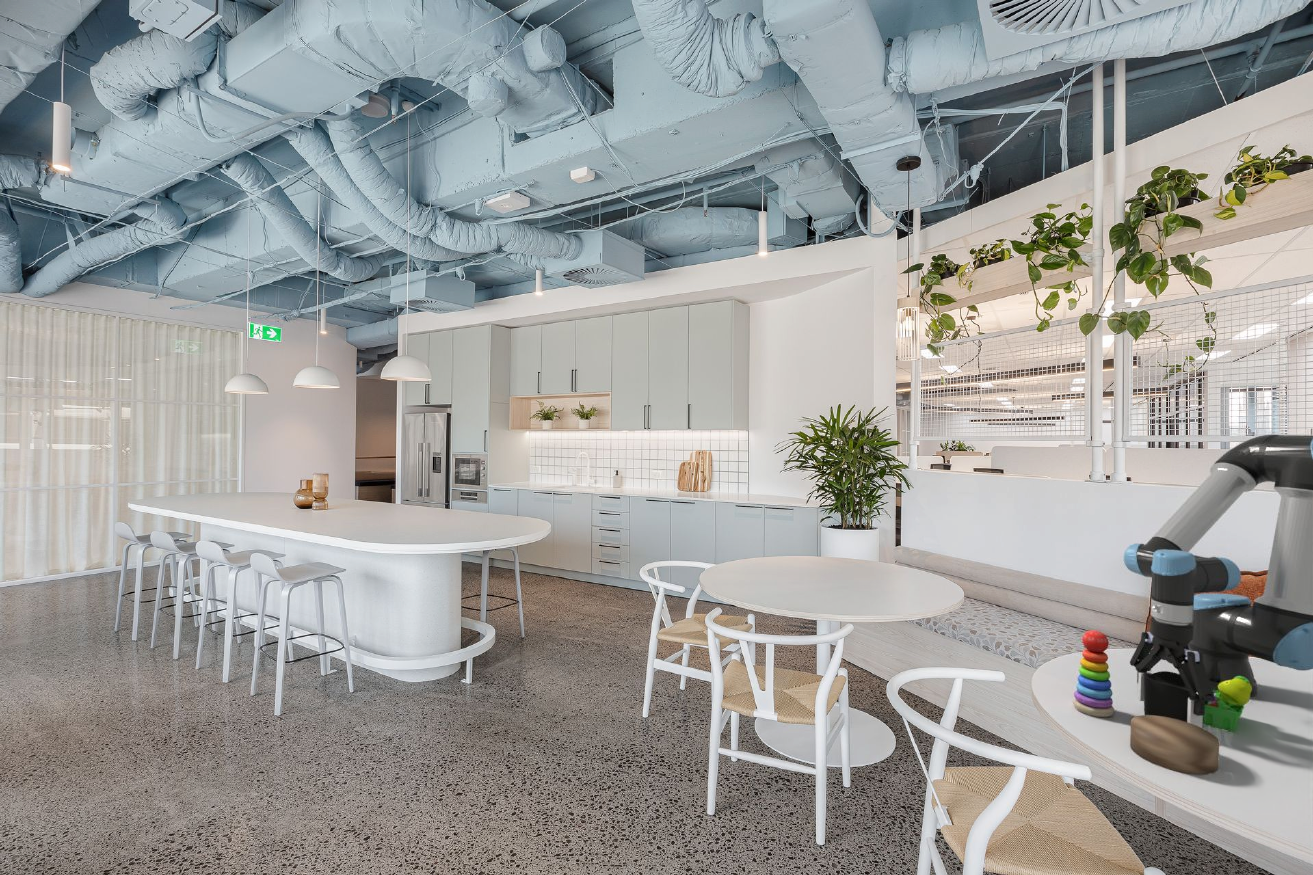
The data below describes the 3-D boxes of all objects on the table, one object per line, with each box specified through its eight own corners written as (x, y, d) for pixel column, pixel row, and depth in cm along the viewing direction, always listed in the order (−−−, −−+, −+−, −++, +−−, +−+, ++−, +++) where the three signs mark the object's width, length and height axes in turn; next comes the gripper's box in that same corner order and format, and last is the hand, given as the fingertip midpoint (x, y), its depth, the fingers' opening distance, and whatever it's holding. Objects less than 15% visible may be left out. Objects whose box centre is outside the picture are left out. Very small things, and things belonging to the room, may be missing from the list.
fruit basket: (1201, 708, 153) (1203, 661, 153) (1252, 721, 147) (1254, 671, 147) (1194, 724, 145) (1196, 674, 145) (1248, 739, 139) (1250, 686, 139)
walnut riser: (1177, 737, 140) (1177, 714, 139) (1238, 773, 126) (1239, 748, 125) (1113, 738, 139) (1114, 715, 139) (1167, 775, 125) (1168, 749, 125)
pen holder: (1139, 708, 153) (1140, 666, 153) (1190, 718, 148) (1192, 675, 148) (1145, 725, 145) (1146, 681, 145) (1199, 736, 140) (1201, 690, 140)
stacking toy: (1120, 720, 148) (1123, 638, 147) (1081, 716, 149) (1083, 635, 148) (1104, 704, 155) (1106, 626, 155) (1067, 701, 157) (1069, 624, 156)
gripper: (1113, 604, 158) (1111, 690, 159) (1204, 639, 133) (1200, 741, 134) (1143, 603, 158) (1141, 689, 159) (1239, 639, 134) (1236, 741, 134)
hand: (1168, 713), depth 147 cm, fingers open, 13 cm apart
